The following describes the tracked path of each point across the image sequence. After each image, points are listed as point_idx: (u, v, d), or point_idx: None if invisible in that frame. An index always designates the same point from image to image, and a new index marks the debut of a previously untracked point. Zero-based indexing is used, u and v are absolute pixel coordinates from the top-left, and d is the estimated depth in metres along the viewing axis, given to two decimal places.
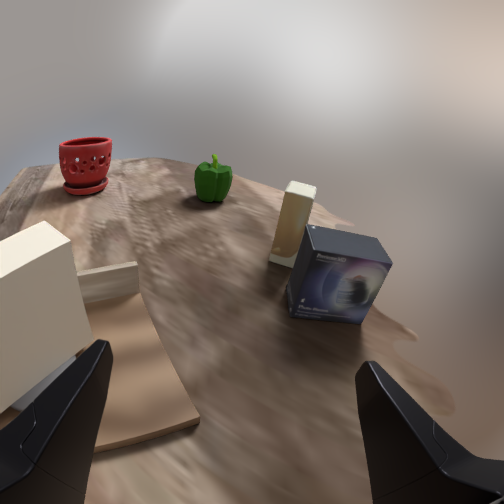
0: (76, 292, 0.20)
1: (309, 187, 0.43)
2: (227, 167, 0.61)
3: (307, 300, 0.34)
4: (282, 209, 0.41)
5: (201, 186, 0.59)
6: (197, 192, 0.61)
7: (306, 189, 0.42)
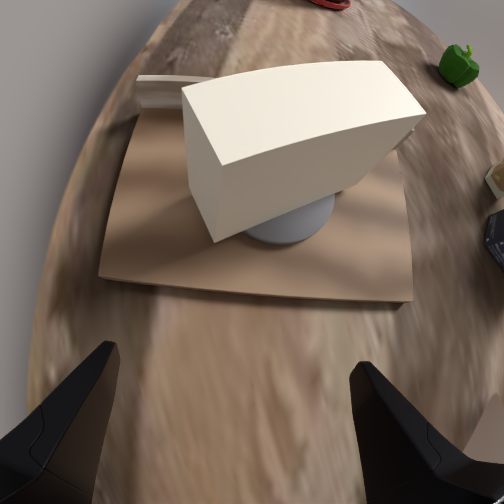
0: (388, 150, 0.19)
1: None
2: (476, 65, 0.33)
3: None
4: None
5: (449, 66, 0.35)
6: (441, 66, 0.38)
7: None
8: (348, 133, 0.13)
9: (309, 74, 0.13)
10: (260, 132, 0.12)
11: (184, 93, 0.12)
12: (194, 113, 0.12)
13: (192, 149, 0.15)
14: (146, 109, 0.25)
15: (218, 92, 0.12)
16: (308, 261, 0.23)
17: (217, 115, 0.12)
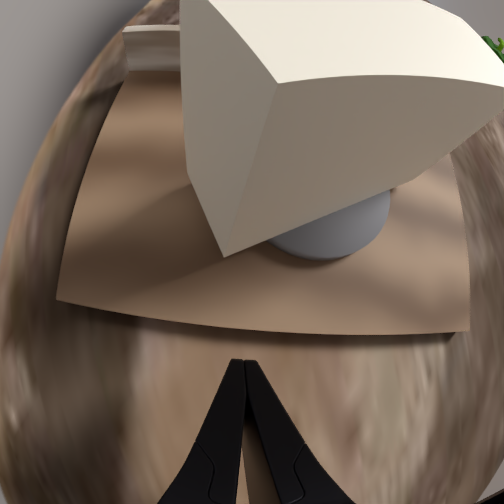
0: (469, 135, 0.11)
1: None
2: None
3: None
4: None
5: None
6: None
7: None
8: (470, 90, 0.05)
9: None
10: (353, 41, 0.04)
11: None
12: None
13: (193, 94, 0.07)
14: (135, 72, 0.17)
15: None
16: (356, 284, 0.16)
17: (255, 2, 0.04)
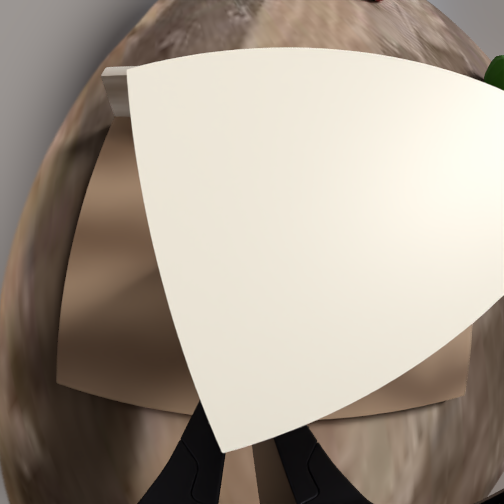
0: None
1: None
2: None
3: None
4: None
5: (498, 79, 0.26)
6: (487, 78, 0.28)
7: None
8: None
9: (463, 98, 0.05)
10: (382, 299, 0.03)
11: (129, 88, 0.03)
12: (140, 173, 0.03)
13: None
14: (121, 118, 0.16)
15: (244, 93, 0.03)
16: None
17: (227, 196, 0.03)
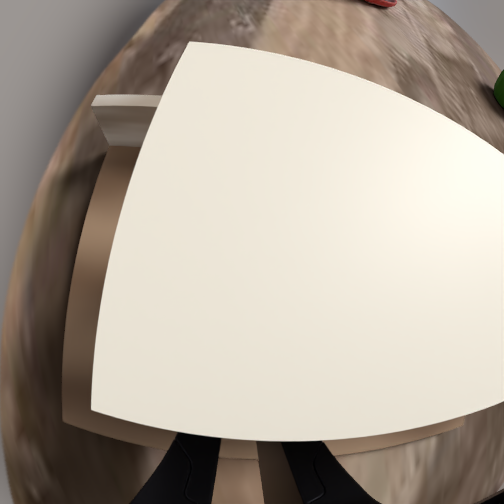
0: None
1: None
2: None
3: None
4: None
5: None
6: (498, 90, 0.27)
7: None
8: None
9: None
10: (319, 353, 0.03)
11: (182, 58, 0.03)
12: (150, 132, 0.03)
13: None
14: (116, 148, 0.16)
15: (280, 98, 0.03)
16: None
17: (210, 181, 0.03)
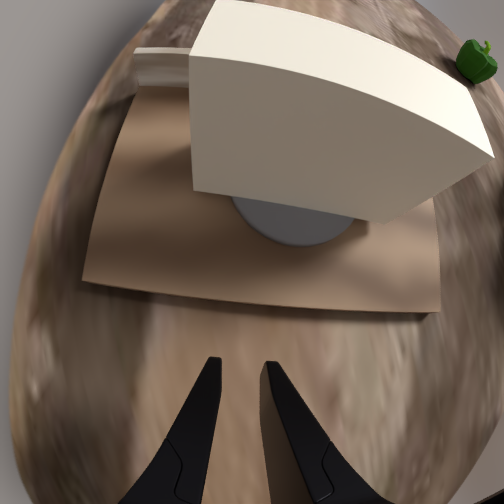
0: (434, 191, 0.14)
1: None
2: (494, 62, 0.28)
3: None
4: None
5: (467, 60, 0.31)
6: (458, 61, 0.33)
7: None
8: (376, 106, 0.09)
9: (365, 41, 0.09)
10: (257, 48, 0.08)
11: (215, 2, 0.09)
12: None
13: None
14: (144, 87, 0.21)
15: (247, 11, 0.09)
16: (331, 266, 0.20)
17: (227, 23, 0.08)
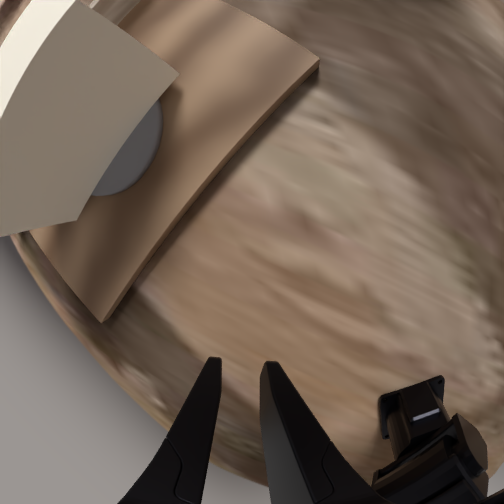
0: (127, 43, 0.11)
1: None
2: None
3: None
4: None
5: None
6: None
7: None
8: None
9: None
10: None
11: None
12: None
13: None
14: None
15: None
16: (181, 147, 0.19)
17: None
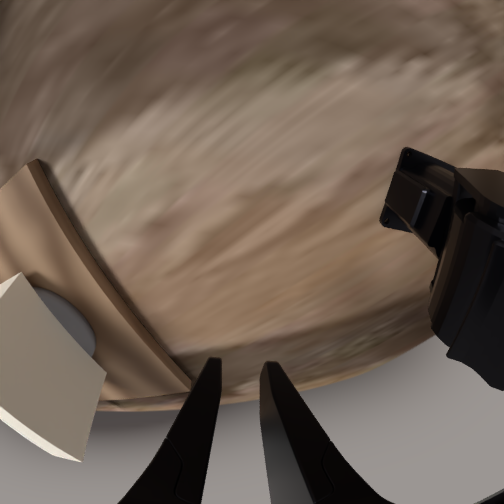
0: None
1: None
2: None
3: None
4: None
5: None
6: None
7: None
8: (26, 421, 0.13)
9: (5, 420, 0.14)
10: (59, 451, 0.16)
11: (55, 455, 0.17)
12: (63, 457, 0.17)
13: None
14: None
15: (47, 450, 0.16)
16: (73, 289, 0.21)
17: (60, 455, 0.16)
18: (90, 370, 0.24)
